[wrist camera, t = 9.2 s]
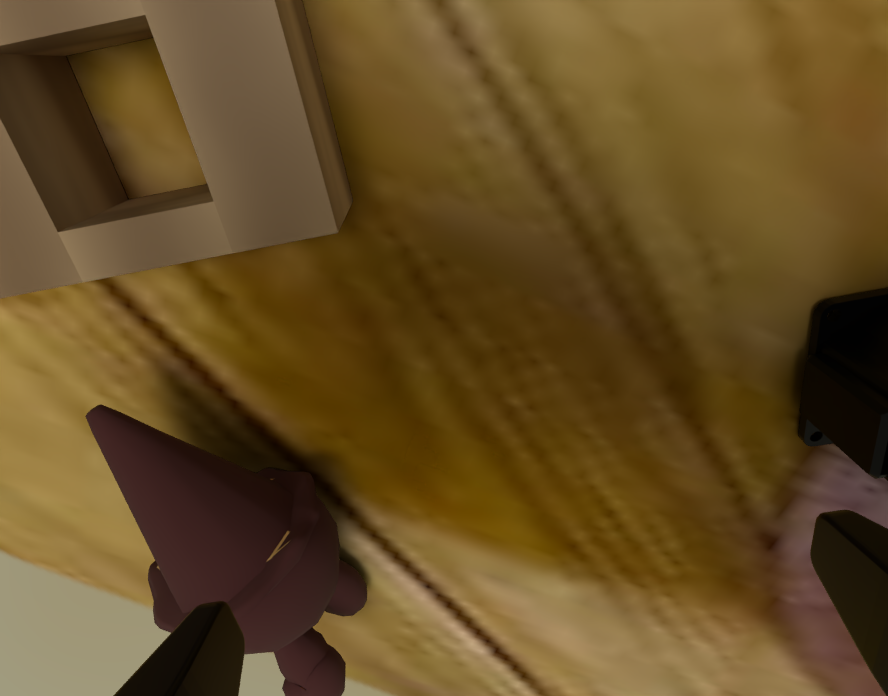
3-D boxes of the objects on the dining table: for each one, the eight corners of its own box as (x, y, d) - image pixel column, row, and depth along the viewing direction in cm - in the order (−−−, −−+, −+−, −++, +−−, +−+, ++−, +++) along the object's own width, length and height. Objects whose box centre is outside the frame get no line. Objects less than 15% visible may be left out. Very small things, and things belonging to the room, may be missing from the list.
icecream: (-74, 526, 16) (251, 739, 23) (98, 477, 13) (405, 736, 20) (85, 369, 21) (307, 583, 29) (230, 311, 18) (434, 564, 26)
